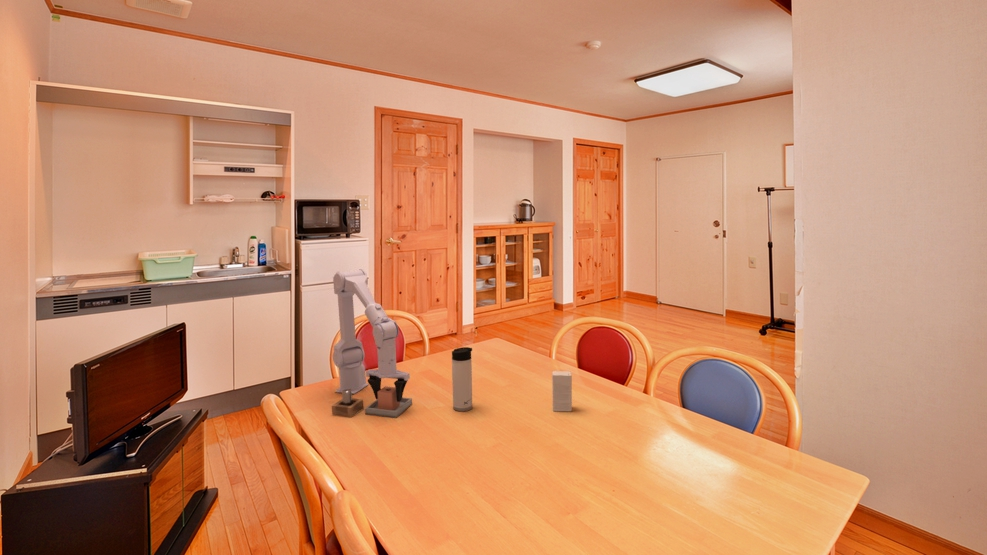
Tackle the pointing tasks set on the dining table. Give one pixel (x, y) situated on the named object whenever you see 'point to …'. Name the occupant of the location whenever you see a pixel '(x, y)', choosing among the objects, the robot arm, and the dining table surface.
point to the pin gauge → (347, 397)
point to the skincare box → (562, 390)
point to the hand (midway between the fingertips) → (388, 399)
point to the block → (387, 398)
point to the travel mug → (462, 379)
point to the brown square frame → (347, 408)
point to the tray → (374, 410)
